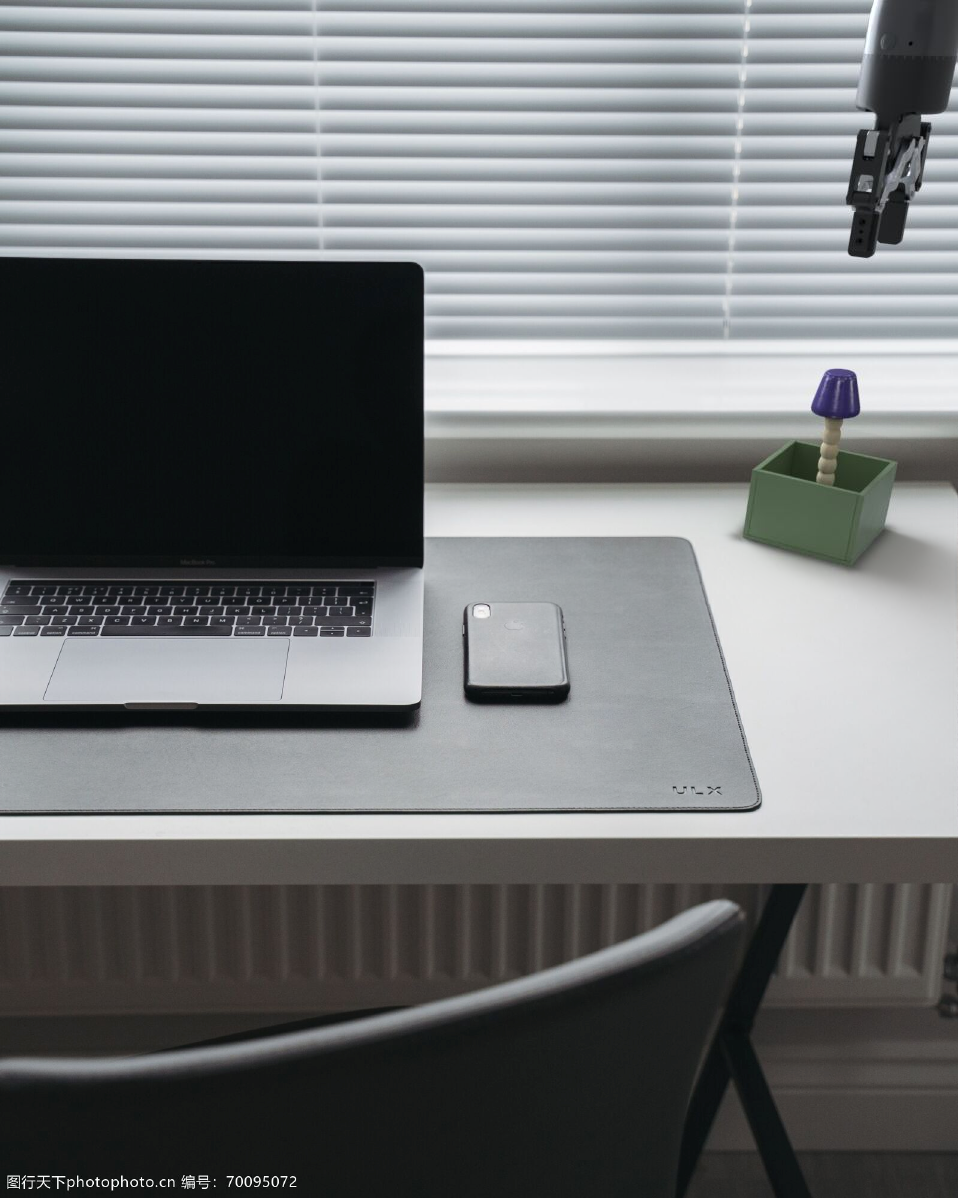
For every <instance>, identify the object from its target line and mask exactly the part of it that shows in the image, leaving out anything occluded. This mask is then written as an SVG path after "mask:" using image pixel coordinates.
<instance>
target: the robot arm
mask: <svg viewBox="0 0 958 1198" xmlns="http://www.w3.org/2000/svg"><path fill="white" fill-rule="evenodd" d="M957 60H958V0H873V3H872V5H871V9H870V13H869V17H868V22H867V27H866V34H865V38H864V45H863V52H862V58H861V64H860V71H859V77H858V83H857V89H856V96H855V101H854V102H855V103H854V104H855V108H856V109H857V110H858V111H860V112H865V113H873V114H874V115H875V116H874V118H875V119H874V120H873V125H872V128H871V129H866V128H865V129H864V128H860V129H859V131H858V133H857V135H856V141H855V148H854V154H853V159H852V165H851V170H850V176H849V182H848V186H847V187H848V188H847V192H846V195H845V204H846V206H850V207H851V211H853V215H852V222H851V228H850V233H849V240H848V246H847V254H848V256H850V257H854V258H861V259H862V258H863V259H870V258H871V257H873V256H875V254H876V249H877V243H879V244H883V245H892V246H893V245H894V246H895V245H899V244H900V243H902V242H903V239H904V234H905V228H906V222H907V218H908V213H909V209H910V202H912V201H913V199H914V198H915V195H916V193H918V192H920V190H921V188H922V185H923V175H924V170H925V165H926V159H927V154H928V149H929V143H930V136H931V133H932V127H933V126H932V121H922V116H928V115H929V116H930V115H931V116H932V115H941V114H943V113H944V112H945V111H946V110H947V109H948V107H949V101H950V96H951V91H952V87H953V80H954V76H955V70H956V66H957V65H956V64H957ZM868 190H870V191H868ZM908 201H909V202H908Z"/></svg>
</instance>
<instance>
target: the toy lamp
mask: <svg viewBox="0 0 958 1198" xmlns="http://www.w3.org/2000/svg"><path fill="white" fill-rule="evenodd" d="M858 384H859V383H858V377H857V373H856V372H854V371H853V370H851V369H848V368H847V369H846V368H830V369H827V370H826V371H825V372H824V373H823V375H822V376H821V380H820V382H819V384H818V386H817V389H816V392H815V394H814V397H813V400H812V402H811V405H810V410H811V412H812V413H813V414H814V415H816V416H818V417H822V418H824V426H825V427H824V429H823V432H822V436H821V437H822V443H821V444H820V445H821V450H820V453H821V458H820V460H819V463H818V468H819V472H818V474H817V479H816V480H817V483H820V484H824V485H829V486H833V484H834V480H835V476H834V471H835V469H836V465H837V461H836V456H837V454H838V451H839V449H840V447H839V442H840V440H841V436H842V431H841V428H842V426H843V423H844V420H845V419H853V418H856V417H857V416H859V415H860V413H861V400H860V392H859V385H858Z"/></svg>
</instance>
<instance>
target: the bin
mask: <svg viewBox="0 0 958 1198" xmlns="http://www.w3.org/2000/svg"><path fill="white" fill-rule="evenodd" d="M821 445H822V444H818V443H814V442H813V443H812V442H809V441H803V440H799V439H794V438H792V439H790V440H789V441H788V442H786V443H785V444H784V445H783V446H781V447H780V448H778V449H777V450H775V452H774V453H772V454H771V455H770V456H768V457H767V458H765V460H763V461H762V462H761V463H759V464H758V465H756V467H754V468H752V470H751V477H750V483H749V490H748V496H747V505H746V512H745V518H744V524H743V531H742V538H743V539H747V540H751V541H755V542H758V543H761V544H766V545H769V546H772V547H776V548H781V549H784V550H788V551H792V552H795V553H799V554H803V555H806V556H810V557H813V558H817V559H821V560H825V561H830V562H832V563H836V564H840V565H844V566H847V567H851V566H852V565H853V564H854V563H855V562H856V561H857V560H858V559H859V557H860V556H861V555H862V554H863V553H864V552H865V550H867V549H868V548H869V546H870V545H871V544H872V543H873V541H874V540H876V538H878V536H879V535H880V534H881V533H882V532H883V530H884V529H885V527H886V526H885V524H886V521H887V515H888V512H889V508H890V507H889V506H890V502H891V498H892V492H893V488H894V484H895V479H896V474H897V469H898V464H899V462H898V461H895V460H890V459H887V458H881V457H877V456H872V455H867V454H864V453H859V452H853V451H849V450H846V449H840V448H839V451H838V454H837V456H836V461H837V465H836V469H835V471H834V476H835V480H834V484H833V486H829V485H824V484H820V483H817V480H816V479H817V474H818V472H819V468H818V463H819V460H820V458H821V453H820V450H821Z"/></svg>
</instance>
